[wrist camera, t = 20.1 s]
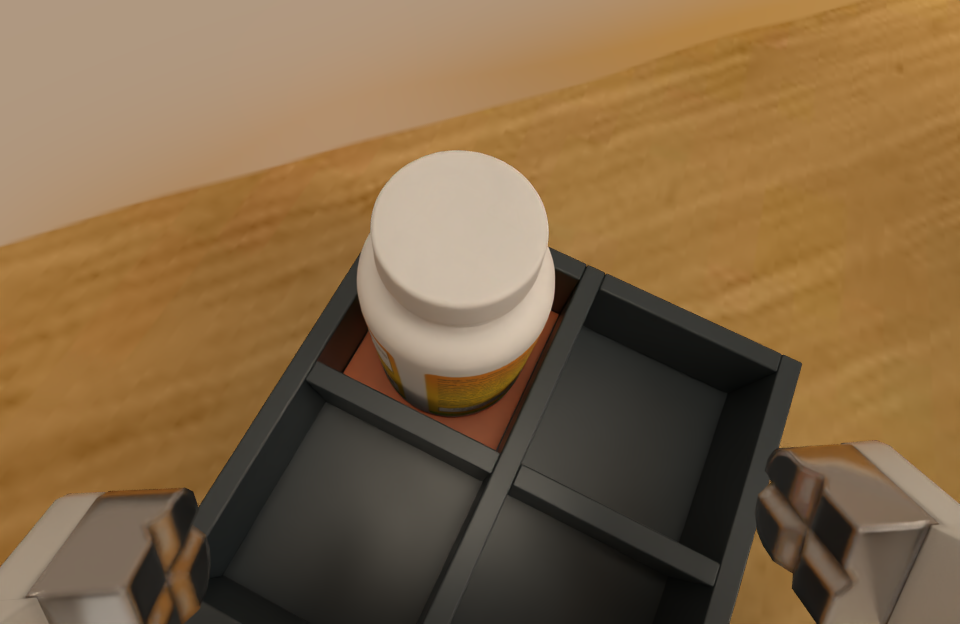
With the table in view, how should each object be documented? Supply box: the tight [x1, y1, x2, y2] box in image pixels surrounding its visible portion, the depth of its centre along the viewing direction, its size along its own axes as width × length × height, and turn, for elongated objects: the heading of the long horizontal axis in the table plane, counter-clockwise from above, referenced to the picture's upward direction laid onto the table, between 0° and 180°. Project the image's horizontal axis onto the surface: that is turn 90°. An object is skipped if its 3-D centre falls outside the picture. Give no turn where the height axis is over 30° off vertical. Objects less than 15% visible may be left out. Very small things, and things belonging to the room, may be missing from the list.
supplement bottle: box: [357, 150, 555, 417], centre depth 17 cm, size 5×5×10 cm
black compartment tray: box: [184, 247, 802, 624], centre depth 19 cm, size 15×15×4 cm
